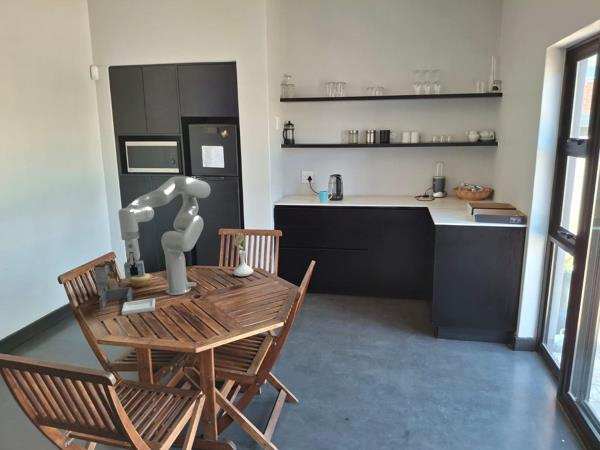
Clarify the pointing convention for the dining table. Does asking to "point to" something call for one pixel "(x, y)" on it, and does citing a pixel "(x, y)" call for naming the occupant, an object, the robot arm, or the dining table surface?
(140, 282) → the pastry
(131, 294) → the bay
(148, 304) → the tray
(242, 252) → the flower in vase
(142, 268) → the grey chamfered block
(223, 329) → the dining table surface
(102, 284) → the coffee box
